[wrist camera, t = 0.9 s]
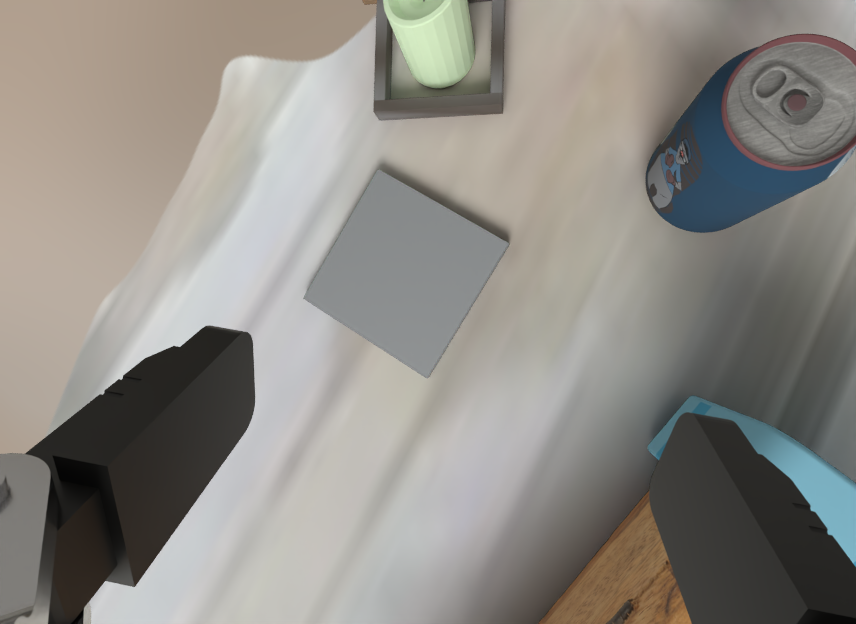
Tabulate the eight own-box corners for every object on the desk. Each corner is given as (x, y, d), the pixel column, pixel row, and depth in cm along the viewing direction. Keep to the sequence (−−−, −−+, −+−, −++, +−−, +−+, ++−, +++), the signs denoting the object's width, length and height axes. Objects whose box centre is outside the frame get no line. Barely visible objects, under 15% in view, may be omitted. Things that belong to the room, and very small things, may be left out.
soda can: (779, 179, 31) (938, 88, 19) (698, 258, 32) (803, 217, 20) (694, 111, 32) (794, -15, 20) (617, 189, 33) (672, 111, 21)
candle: (401, 85, 36) (367, 15, 28) (415, 18, 36) (385, -71, 28) (467, 93, 35) (451, 23, 27) (481, 25, 35) (470, -65, 27)
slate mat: (381, 172, 36) (378, 168, 35) (509, 245, 34) (508, 243, 33) (307, 298, 37) (303, 298, 36) (428, 377, 35) (426, 378, 34)
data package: (639, 443, 32) (709, 509, 20) (684, 390, 32) (781, 427, 20) (802, 570, 30) (983, 726, 18) (852, 515, 30) (1071, 639, 18)
